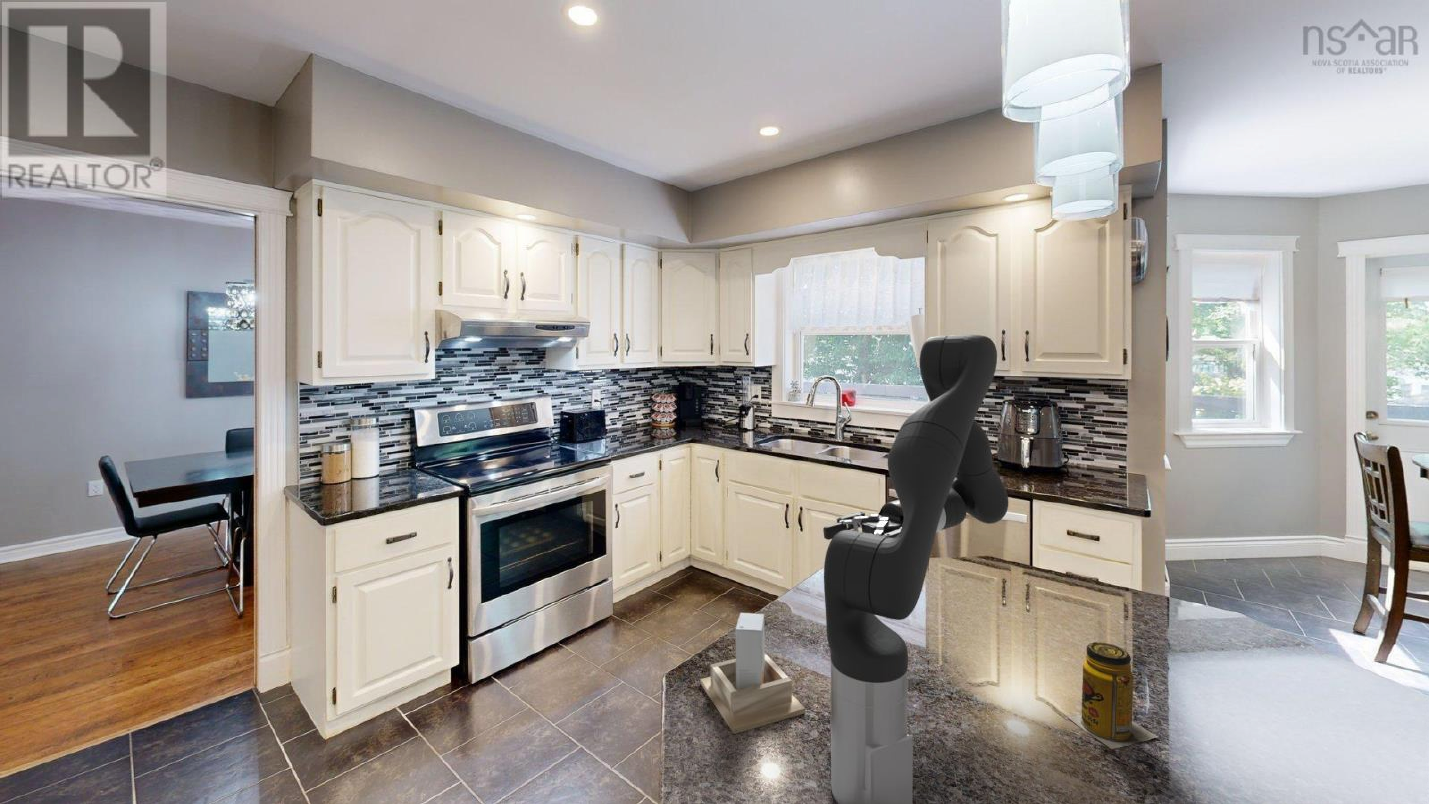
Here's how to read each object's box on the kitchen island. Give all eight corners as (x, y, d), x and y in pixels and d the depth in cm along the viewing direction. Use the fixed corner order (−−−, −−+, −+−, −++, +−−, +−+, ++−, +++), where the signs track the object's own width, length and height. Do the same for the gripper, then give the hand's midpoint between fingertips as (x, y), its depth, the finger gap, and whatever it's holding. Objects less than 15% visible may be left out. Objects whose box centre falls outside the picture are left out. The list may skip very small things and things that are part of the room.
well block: (804, 713, 87) (804, 686, 87) (733, 734, 83) (733, 706, 82) (763, 667, 100) (763, 644, 100) (700, 683, 96) (699, 659, 95)
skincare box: (762, 704, 88) (761, 631, 87) (735, 702, 89) (734, 629, 88) (765, 682, 94) (764, 613, 93) (740, 680, 95) (739, 611, 94)
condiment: (1066, 718, 85) (1068, 641, 84) (1111, 708, 87) (1114, 633, 86) (1111, 750, 78) (1114, 667, 77) (1159, 739, 80) (1162, 658, 79)
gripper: (883, 491, 109) (813, 510, 102) (940, 504, 95) (863, 527, 89) (887, 529, 109) (817, 550, 103) (945, 547, 96) (869, 573, 90)
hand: (839, 539), depth 96 cm, fingers open, 8 cm apart
